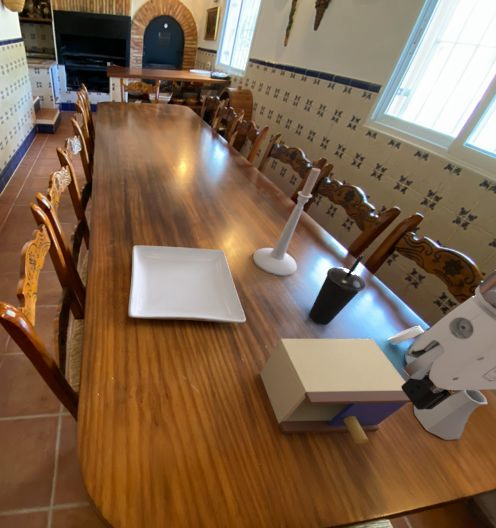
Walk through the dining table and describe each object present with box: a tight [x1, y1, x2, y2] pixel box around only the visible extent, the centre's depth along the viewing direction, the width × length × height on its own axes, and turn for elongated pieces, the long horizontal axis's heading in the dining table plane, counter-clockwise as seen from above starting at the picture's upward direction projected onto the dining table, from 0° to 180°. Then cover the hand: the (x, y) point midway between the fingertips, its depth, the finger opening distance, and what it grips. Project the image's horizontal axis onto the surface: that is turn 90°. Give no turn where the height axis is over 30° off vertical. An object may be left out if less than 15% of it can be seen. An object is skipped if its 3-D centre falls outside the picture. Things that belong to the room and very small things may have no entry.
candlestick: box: [252, 167, 321, 277], centre depth 82 cm, size 13×13×30 cm
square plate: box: [127, 245, 247, 324], centre depth 78 cm, size 27×27×4 cm
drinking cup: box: [308, 254, 366, 326], centre depth 68 cm, size 8×8×20 cm
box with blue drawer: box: [259, 338, 412, 434], centre depth 54 cm, size 12×18×12 cm, turn 93°
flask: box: [413, 390, 489, 441], centre depth 53 cm, size 7×7×10 cm
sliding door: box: [328, 403, 407, 445], centre depth 49 cm, size 4×9×9 cm, turn 93°
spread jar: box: [387, 325, 432, 366], centre depth 63 cm, size 12×11×12 cm
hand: (414, 398), depth 39 cm, fingers closed
